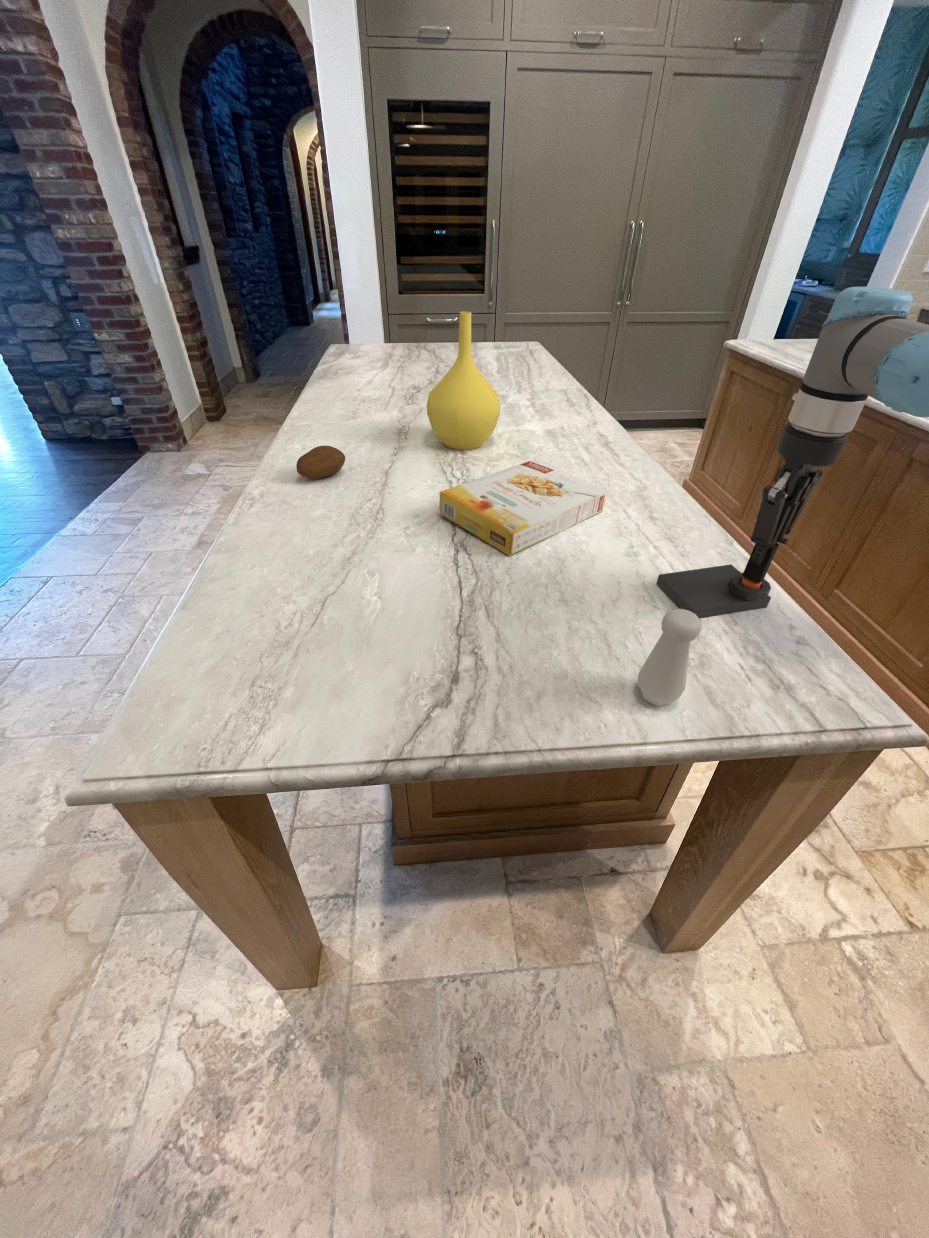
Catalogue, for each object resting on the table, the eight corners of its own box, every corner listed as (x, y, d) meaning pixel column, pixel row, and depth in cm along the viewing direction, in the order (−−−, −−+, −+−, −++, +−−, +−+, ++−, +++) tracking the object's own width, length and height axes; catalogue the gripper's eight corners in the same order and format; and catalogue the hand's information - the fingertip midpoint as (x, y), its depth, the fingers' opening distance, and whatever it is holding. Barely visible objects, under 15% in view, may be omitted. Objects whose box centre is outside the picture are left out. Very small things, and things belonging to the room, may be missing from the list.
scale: (729, 573, 93) (736, 556, 91) (770, 608, 85) (778, 590, 83) (655, 583, 90) (661, 566, 88) (691, 621, 82) (698, 603, 80)
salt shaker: (634, 675, 72) (658, 597, 64) (678, 683, 71) (708, 605, 63) (633, 706, 68) (658, 626, 60) (680, 715, 67) (712, 636, 59)
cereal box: (437, 490, 103) (534, 455, 118) (437, 516, 106) (531, 478, 122) (514, 532, 92) (610, 486, 107) (511, 559, 95) (604, 511, 110)
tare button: (750, 581, 86) (753, 573, 85) (762, 591, 84) (765, 583, 83) (735, 584, 86) (738, 576, 85) (747, 594, 84) (750, 585, 83)
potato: (291, 480, 119) (285, 449, 114) (334, 466, 125) (330, 436, 121) (309, 489, 115) (303, 458, 111) (352, 474, 122) (348, 444, 118)
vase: (511, 442, 140) (522, 312, 122) (468, 462, 129) (473, 323, 110) (457, 426, 149) (459, 303, 130) (412, 444, 137) (407, 312, 119)
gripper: (810, 410, 75) (750, 554, 90) (764, 429, 68) (708, 581, 83) (868, 425, 70) (795, 574, 85) (825, 447, 64) (754, 604, 79)
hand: (752, 578), depth 84 cm, fingers closed
